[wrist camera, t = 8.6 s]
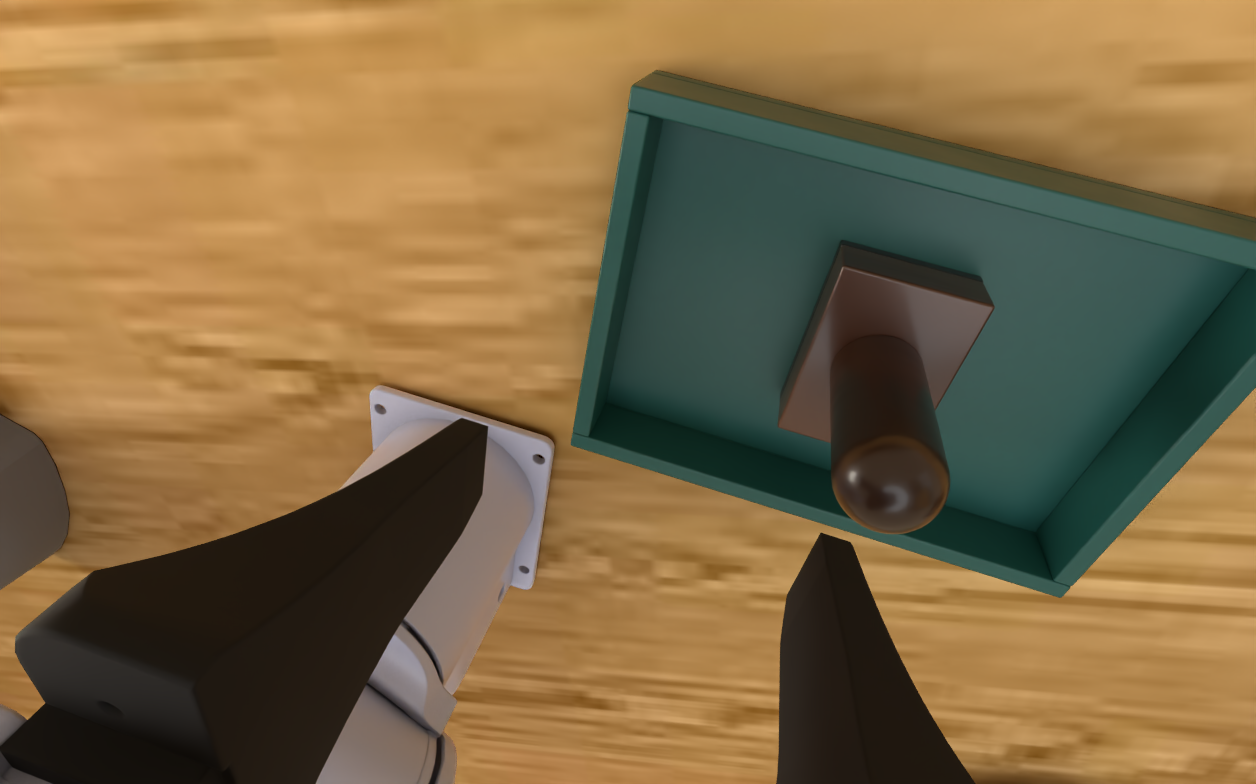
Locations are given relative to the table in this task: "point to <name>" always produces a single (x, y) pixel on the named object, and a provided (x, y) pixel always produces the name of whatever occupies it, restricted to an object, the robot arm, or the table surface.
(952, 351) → the stamp
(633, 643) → the table surface
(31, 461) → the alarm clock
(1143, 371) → the tray
